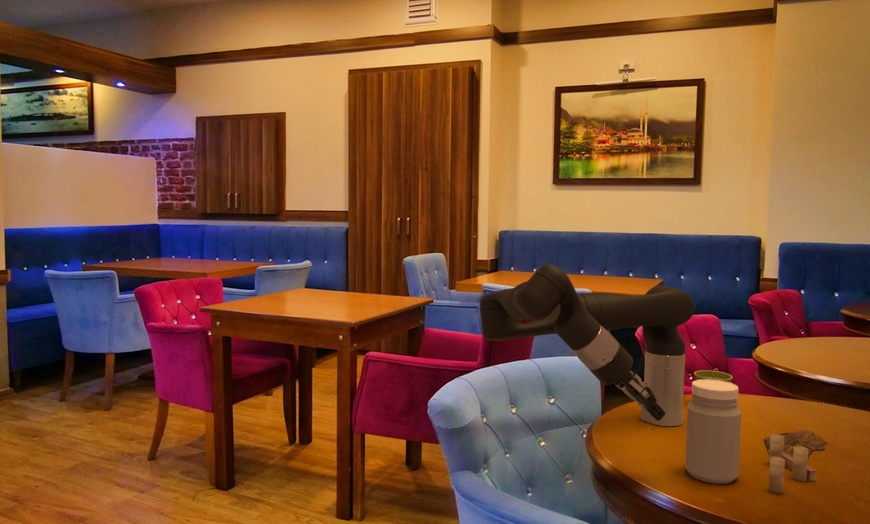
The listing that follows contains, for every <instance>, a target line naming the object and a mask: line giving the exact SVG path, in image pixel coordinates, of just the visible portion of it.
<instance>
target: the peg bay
mask: <svg viewBox="0 0 870 524" xmlns="http://www.w3.org/2000/svg"><path fill="white" fill-rule="evenodd" d="M779 434H780V433H779ZM779 434H778V433H771V434H770V436H769V437H770V454H769V455H768V456H769V457H768V458H769V460H768V464H769V472H768V491H770V492H771V493H773V494H783V493H784V487H785V485H784V484H785V468H786V467H787V468H786V469H788V468H789V469H788V470H790V469H791V470H790V471H791V472H792V476H791V477H792V479H793V480H795V481H798V482H807V481H808V482H816V481H817V475H818V471H817V470H816V469H815V468H813V467H811V466H809V465H808V462H809V458H808V456H809V455H808V449H807V448H805V447H801V446H795V447H794V455H793V457H791V456H790V455H788V454H786V453H783V445H784V436H782V435H779ZM785 466H786V467H785Z"/></svg>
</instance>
